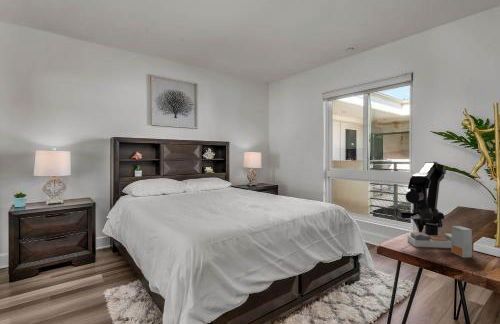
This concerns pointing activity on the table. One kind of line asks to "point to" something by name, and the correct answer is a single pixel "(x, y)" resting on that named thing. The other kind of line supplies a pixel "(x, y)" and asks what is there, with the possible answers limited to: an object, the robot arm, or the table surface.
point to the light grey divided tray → (429, 243)
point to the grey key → (420, 236)
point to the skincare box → (461, 241)
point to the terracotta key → (437, 238)
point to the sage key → (448, 236)
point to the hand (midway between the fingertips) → (420, 232)
